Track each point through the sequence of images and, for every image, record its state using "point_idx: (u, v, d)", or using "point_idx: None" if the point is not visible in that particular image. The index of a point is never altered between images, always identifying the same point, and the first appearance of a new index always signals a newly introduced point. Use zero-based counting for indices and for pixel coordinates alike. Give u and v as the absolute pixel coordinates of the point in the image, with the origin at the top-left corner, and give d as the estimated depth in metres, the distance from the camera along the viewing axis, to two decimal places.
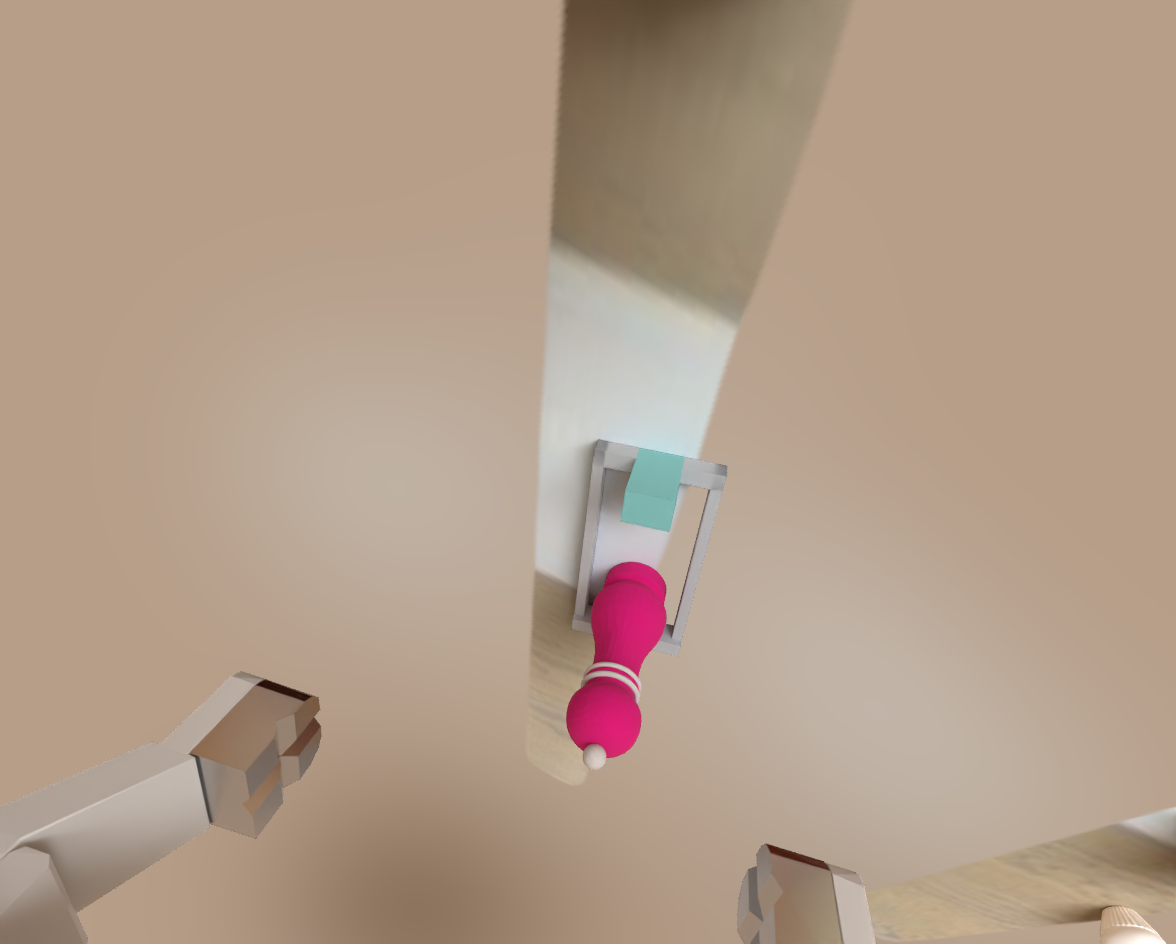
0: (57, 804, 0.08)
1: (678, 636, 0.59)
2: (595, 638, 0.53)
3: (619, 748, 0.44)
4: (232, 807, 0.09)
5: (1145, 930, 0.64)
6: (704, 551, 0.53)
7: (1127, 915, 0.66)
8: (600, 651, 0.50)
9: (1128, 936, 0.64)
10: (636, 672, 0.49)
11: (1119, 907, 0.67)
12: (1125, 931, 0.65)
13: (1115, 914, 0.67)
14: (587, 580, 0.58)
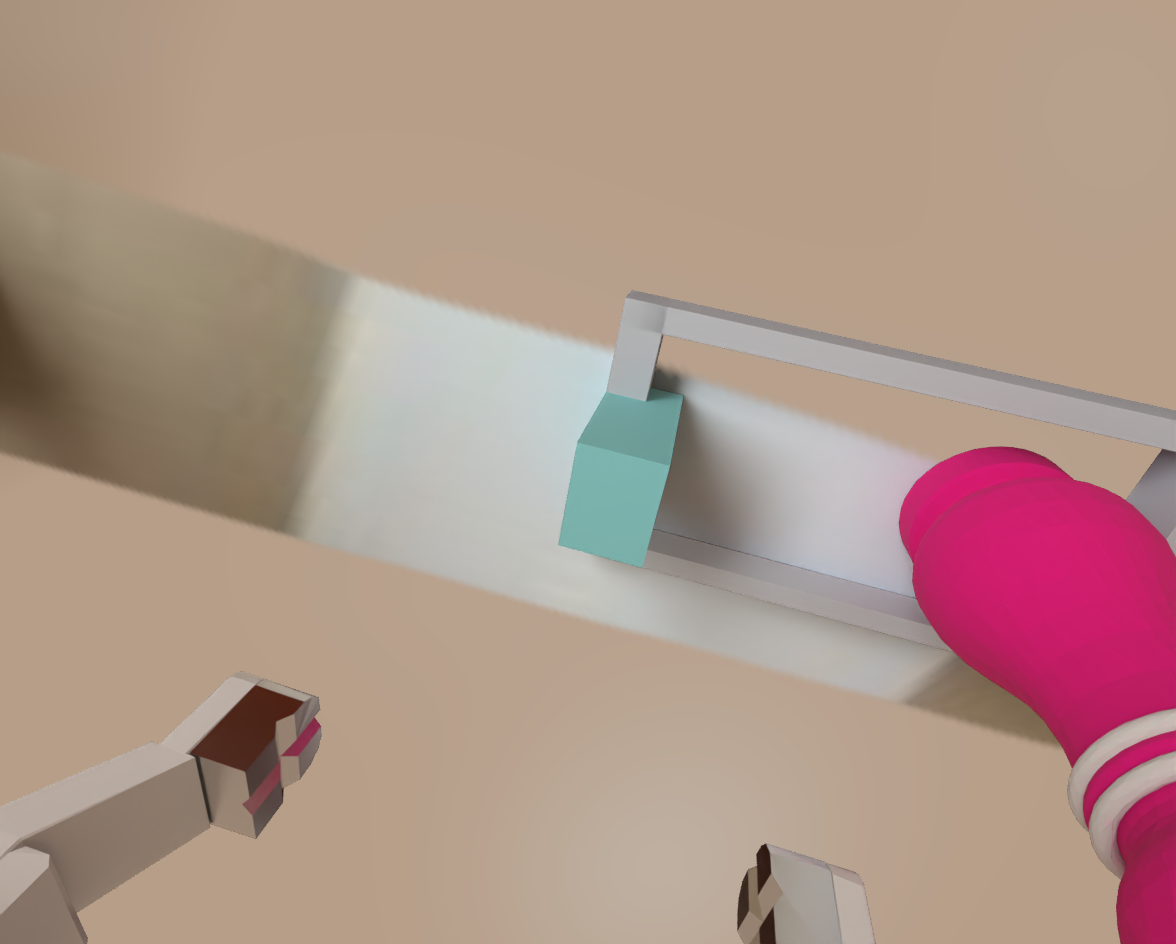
0: (57, 804, 0.08)
1: None
2: None
3: None
4: (232, 807, 0.09)
5: None
6: (853, 352, 0.20)
7: None
8: None
9: None
10: None
11: None
12: None
13: None
14: (924, 625, 0.24)
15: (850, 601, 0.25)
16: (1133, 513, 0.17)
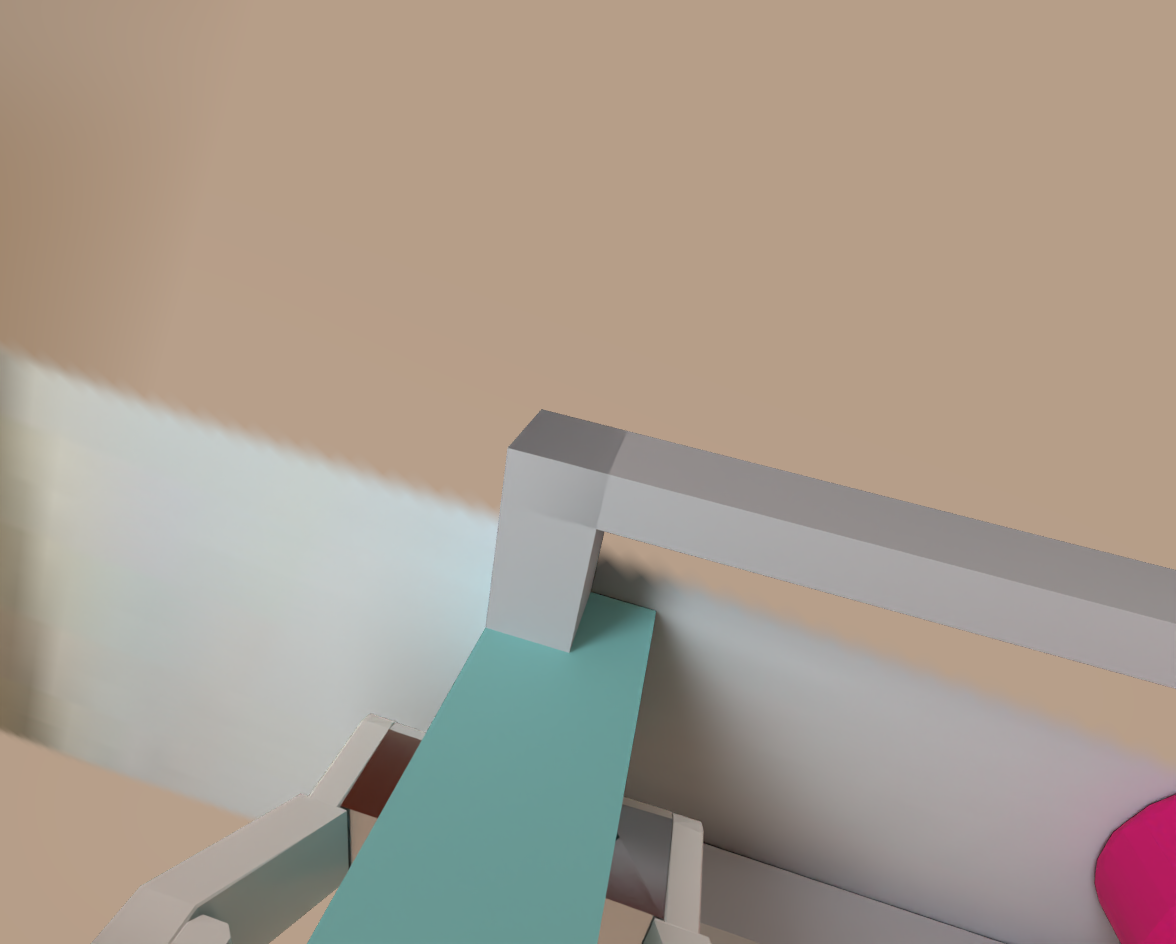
0: (224, 866, 0.07)
1: None
2: None
3: None
4: None
5: None
6: (1074, 606, 0.08)
7: None
8: None
9: None
10: None
11: None
12: None
13: None
14: None
15: None
16: None
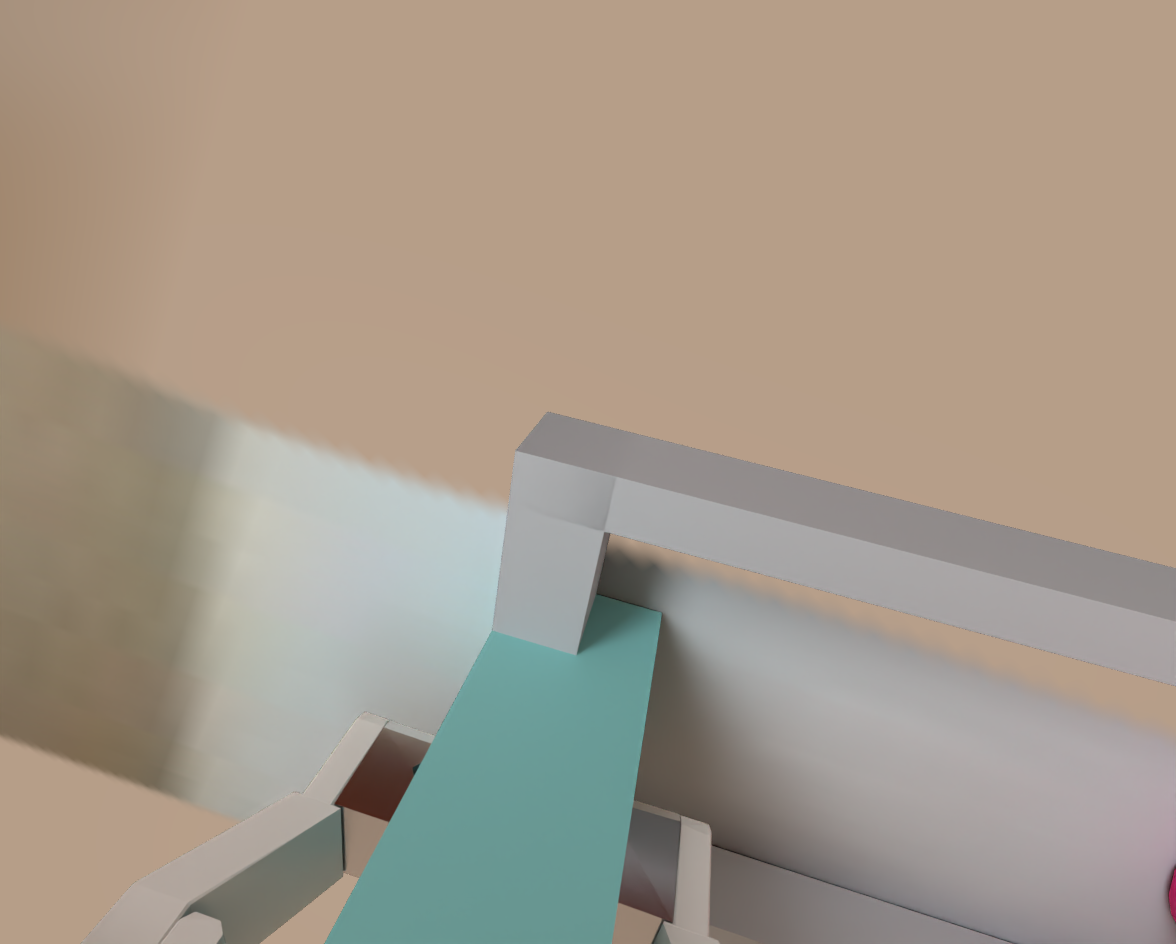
0: (217, 864, 0.07)
1: None
2: None
3: None
4: None
5: None
6: (1082, 606, 0.08)
7: None
8: None
9: None
10: None
11: None
12: None
13: None
14: None
15: None
16: None
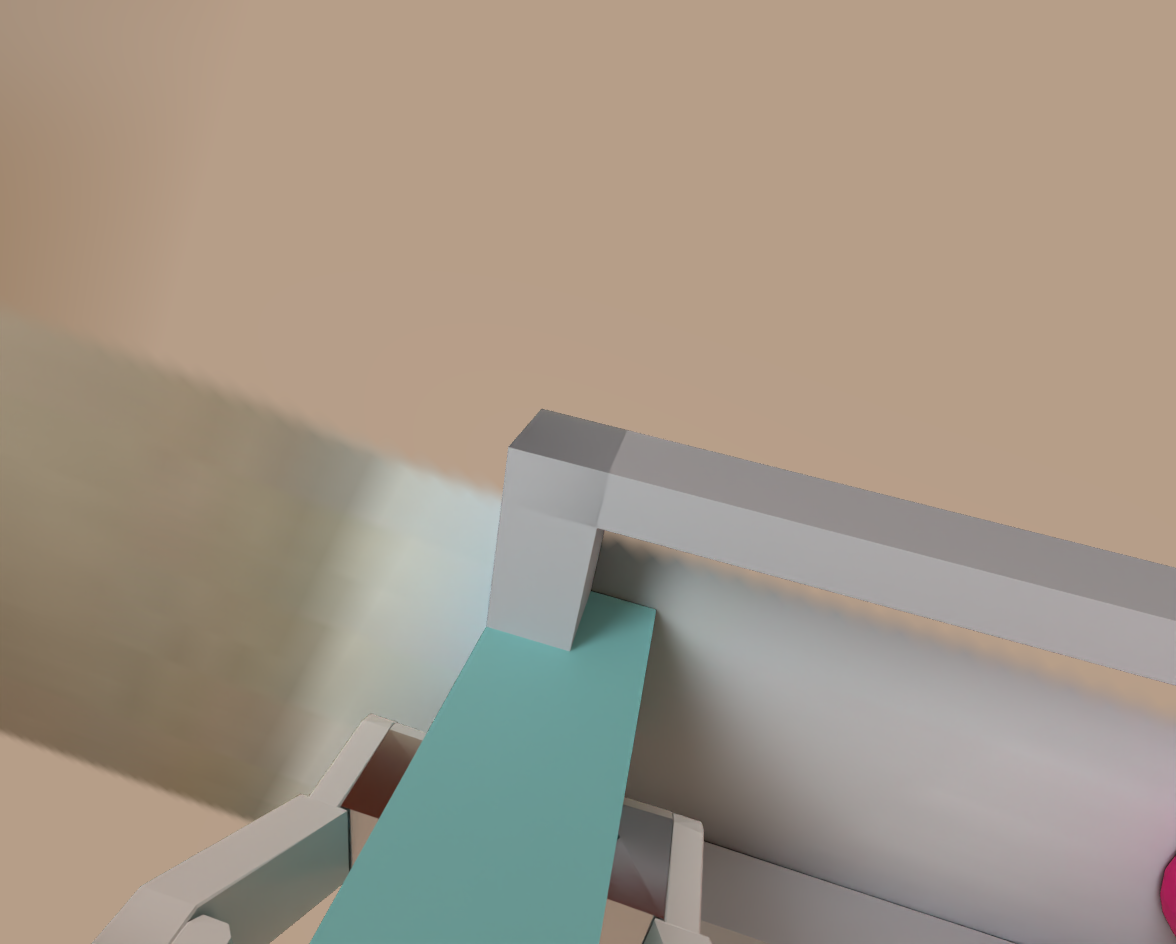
0: (224, 866, 0.07)
1: None
2: None
3: None
4: None
5: None
6: (1072, 602, 0.08)
7: None
8: None
9: None
10: None
11: None
12: None
13: None
14: None
15: None
16: None
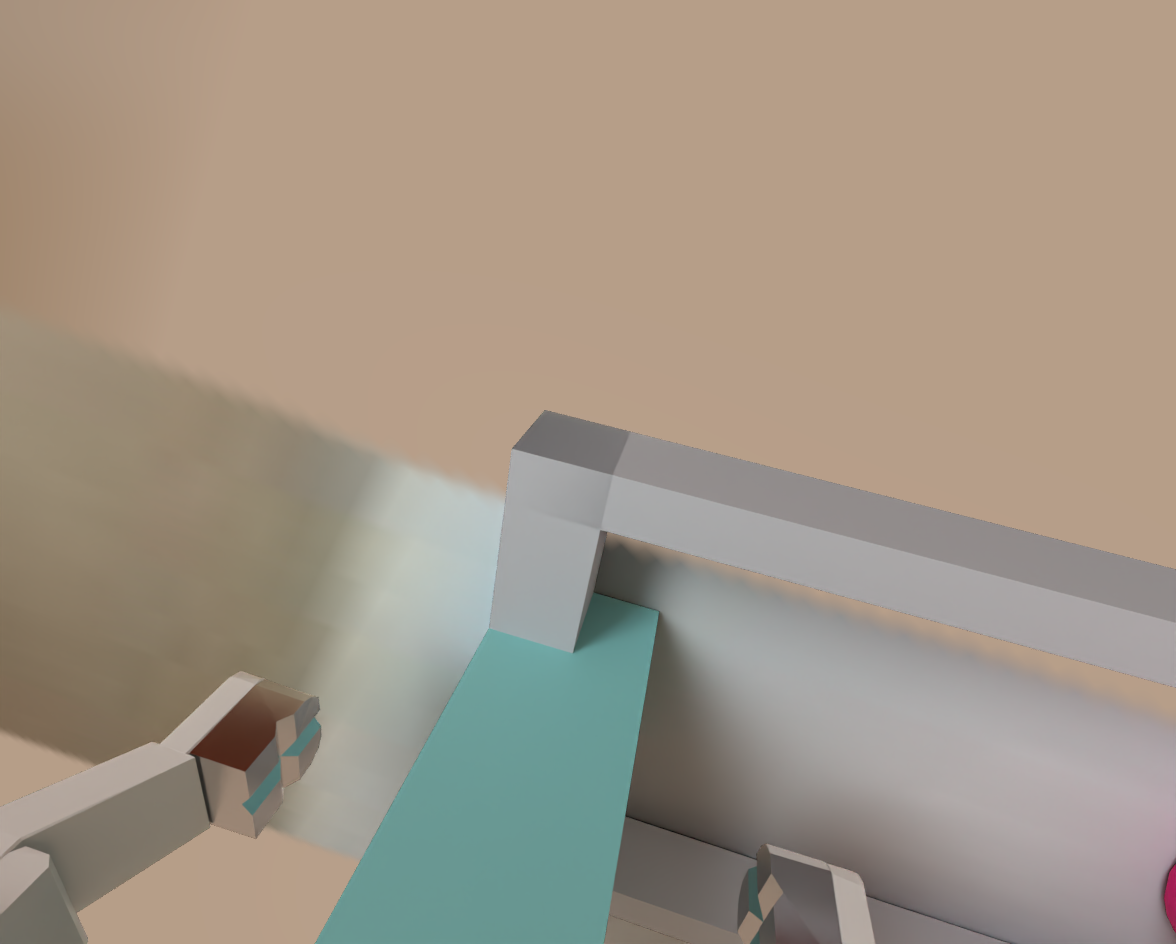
0: (57, 804, 0.08)
1: None
2: None
3: None
4: (232, 807, 0.09)
5: None
6: (1078, 606, 0.08)
7: None
8: None
9: None
10: None
11: None
12: None
13: None
14: None
15: None
16: None
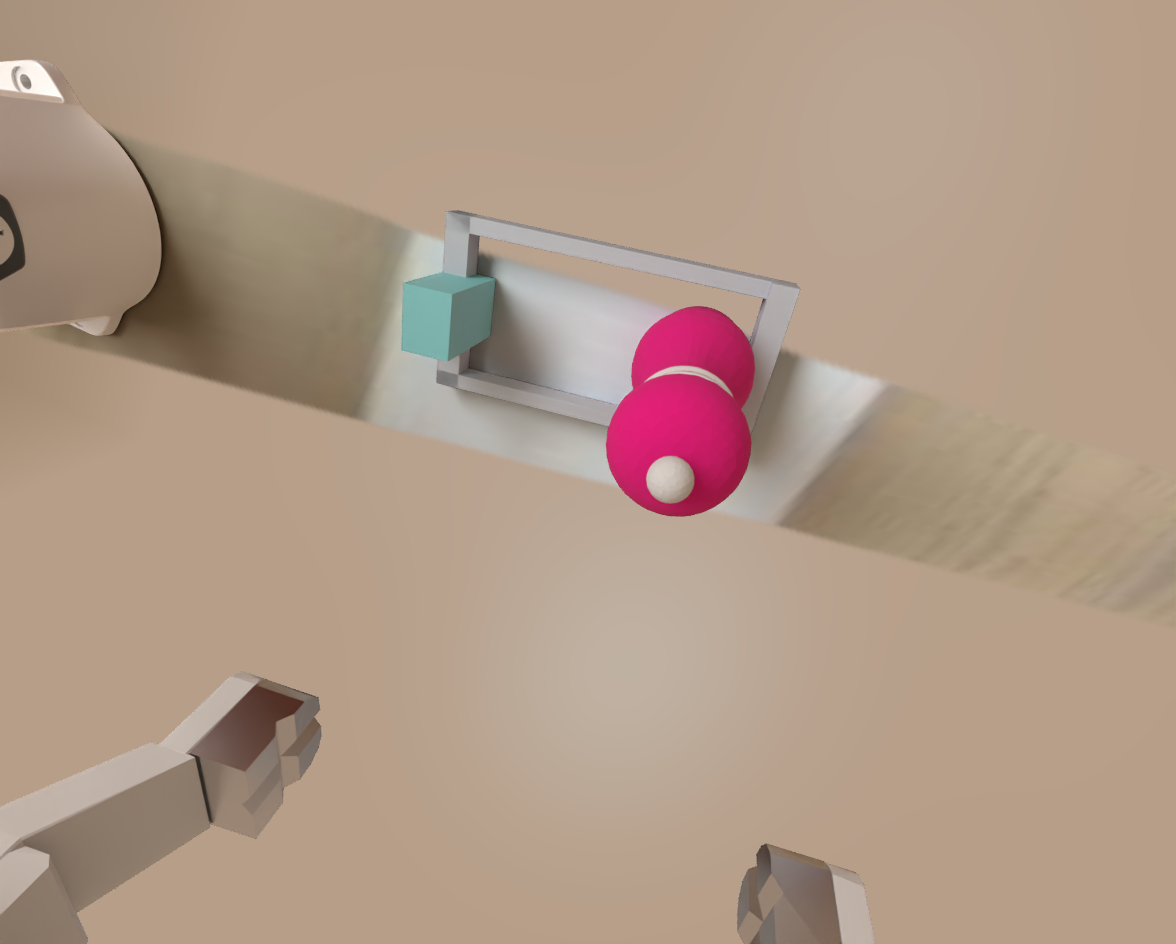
0: (57, 804, 0.08)
1: (761, 286, 0.34)
2: None
3: (680, 427, 0.22)
4: (232, 807, 0.09)
5: None
6: (573, 240, 0.35)
7: None
8: None
9: None
10: None
11: None
12: None
13: None
14: None
15: (603, 410, 0.40)
16: (722, 321, 0.32)
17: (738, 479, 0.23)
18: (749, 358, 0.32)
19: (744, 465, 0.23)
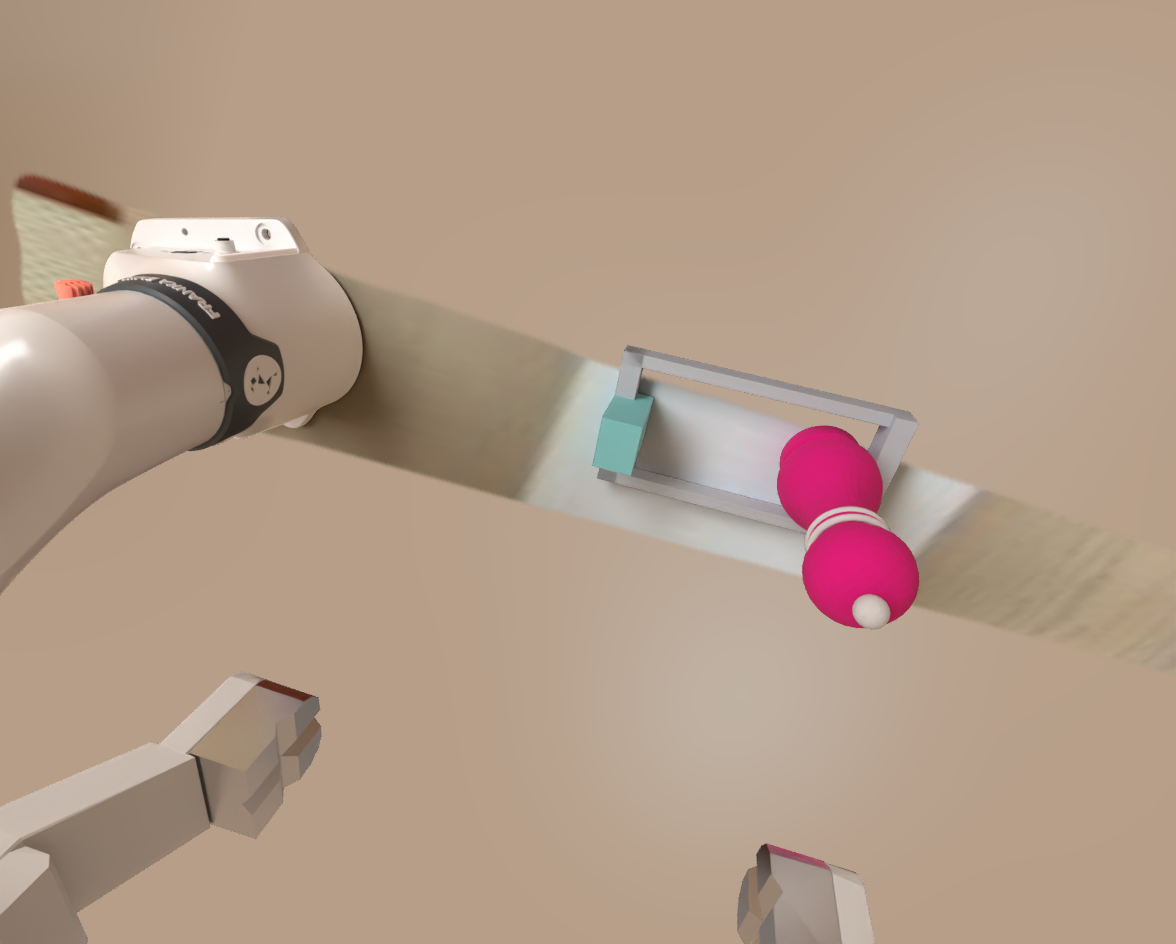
0: (57, 804, 0.08)
1: (884, 417, 0.42)
2: None
3: (877, 573, 0.30)
4: (232, 807, 0.09)
5: None
6: (729, 377, 0.44)
7: None
8: None
9: None
10: (841, 506, 0.36)
11: None
12: None
13: None
14: (777, 515, 0.48)
15: (740, 503, 0.48)
16: (860, 452, 0.40)
17: None
18: (881, 480, 0.41)
19: None
